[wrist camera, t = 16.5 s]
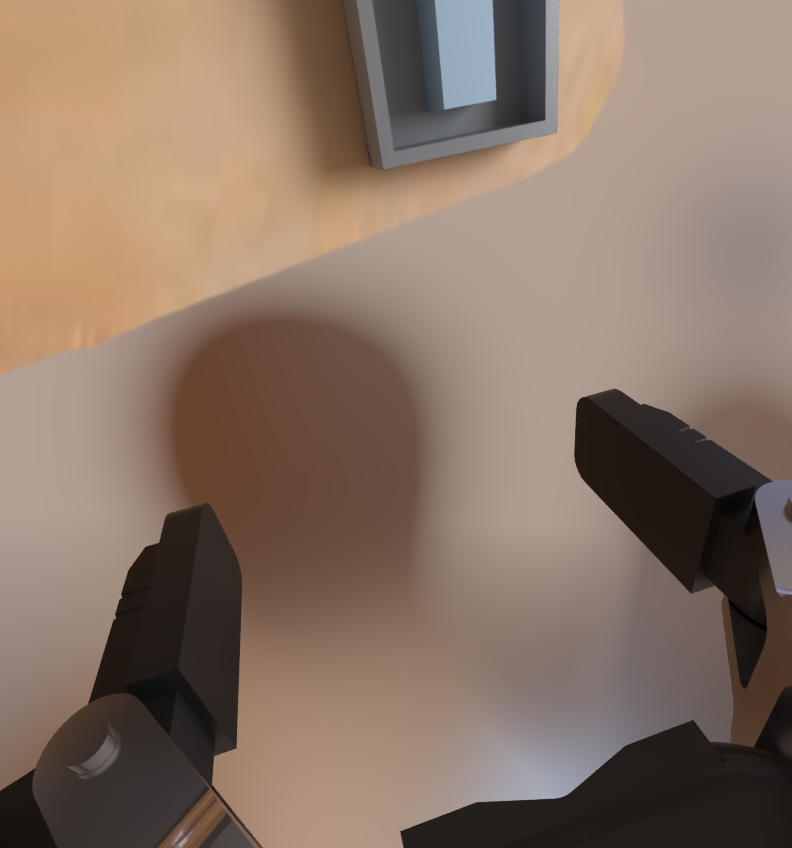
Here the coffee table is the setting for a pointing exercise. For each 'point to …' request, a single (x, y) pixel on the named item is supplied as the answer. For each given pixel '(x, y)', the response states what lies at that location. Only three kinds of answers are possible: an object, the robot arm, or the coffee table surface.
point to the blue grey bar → (457, 52)
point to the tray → (462, 126)
